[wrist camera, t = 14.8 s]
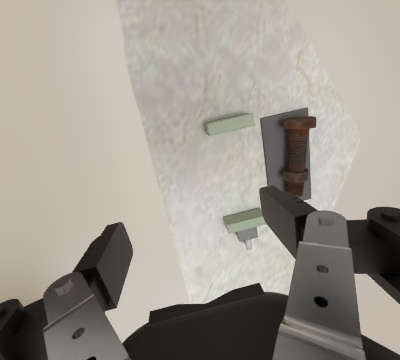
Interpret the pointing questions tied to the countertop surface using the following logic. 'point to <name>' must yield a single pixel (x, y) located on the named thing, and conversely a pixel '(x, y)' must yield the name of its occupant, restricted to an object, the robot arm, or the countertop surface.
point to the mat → (281, 150)
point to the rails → (246, 220)
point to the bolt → (297, 153)
